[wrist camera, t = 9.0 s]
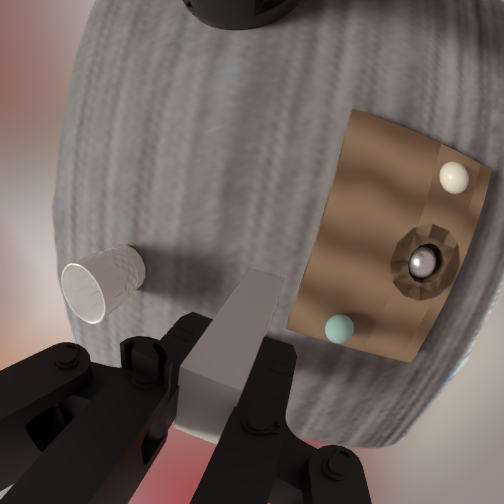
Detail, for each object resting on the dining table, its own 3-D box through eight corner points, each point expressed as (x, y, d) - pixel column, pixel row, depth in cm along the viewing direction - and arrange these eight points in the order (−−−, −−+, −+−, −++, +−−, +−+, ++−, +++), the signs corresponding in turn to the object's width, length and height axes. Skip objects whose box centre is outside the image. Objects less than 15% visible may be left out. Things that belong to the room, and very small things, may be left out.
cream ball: (439, 156, 23) (451, 156, 20) (463, 168, 23) (477, 169, 20) (431, 185, 24) (443, 188, 21) (455, 196, 24) (468, 200, 21)
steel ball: (412, 242, 30) (406, 242, 27) (440, 248, 27) (436, 248, 25) (407, 272, 30) (400, 275, 28) (434, 278, 28) (430, 282, 25)
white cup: (101, 247, 39) (53, 270, 30) (137, 234, 37) (87, 256, 28) (120, 295, 41) (78, 325, 32) (157, 287, 39) (115, 321, 29)
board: (350, 113, 26) (352, 108, 24) (481, 169, 24) (491, 170, 22) (288, 318, 35) (285, 328, 33) (406, 351, 33) (410, 362, 30)
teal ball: (331, 305, 31) (331, 320, 28) (357, 313, 30) (359, 328, 27) (321, 328, 32) (320, 344, 29) (346, 336, 31) (347, 352, 28)
